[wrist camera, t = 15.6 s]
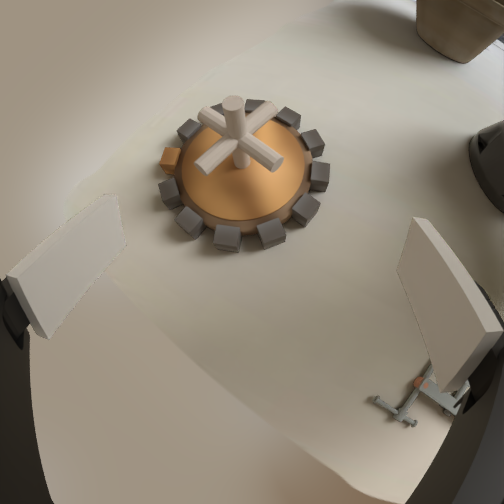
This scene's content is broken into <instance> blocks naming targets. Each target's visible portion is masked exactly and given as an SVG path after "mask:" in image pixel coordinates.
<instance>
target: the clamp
mask: <svg viewBox="0 0 504 504" xmlns="http://www.w3.org/2000/svg"><path fill="white" fill-rule="evenodd" d="M433 371H434V370H433V367H432V364H430V366H429V368H428V369H427V371H426V372H425V374H424V376H423V377H417V378H416V379H415V381H414V384H413V385H414V387H416V388H415V390H414V391H413V393H412V394H411V395H410V397H409V398H408V400H407V401H406V403H405V404H404V405H403V407H402V408H399V409H398V410H396V409H394V408H393V407H391V406H390V405H388V404H387V403H385V402H384V401H382V400H380V397H379V396H376V397H375V398H374V399H373V403H378V404H379V405H381V406H383V407H384V408H386V409H387V410H389V411H390V412H392V413H394V416H393V418H394V419H396V420H397V421H399V422H402V420H405V421H406V422H408V423H410V424H411V427H415V426H416V425H417V423H418V421H417V420H414V421H413V420H412V419H410V418H408V417H407V416H406V415H407V414H408V412H407V410H408V409H409V407H410V406H411V405H412V403H413V402H414V400H415V399H416V397H417V396H418V394H419V393H420V391H421V392H423V393H424V394H426V395H427V396H429V397H430V398H431V399H433V400H434V401H436V402H437V403H439V406H441V407H442V408H444V409H445V410H444V412H443V413H444V414H446V415H447V416H451V414H453V415H454V416H455V417H456V414H457V412H458V410H459V407H460V405H461V404H459V405H458V406H457V407H456V408H453V406H454V405H455V403H456V402H457V401H458V400H459V399H460V398H461V397H462V395H463V393H464V392H465V390H466V388H467V386H468V387H470V385H469V382H468V380H467V381H466V382H465V383H464V384H463V385H462V387H461V388H460V389H459V390H458V391H457V392H456V394H455V396H454V397H453V396H451V395H450V394H448V393H447V392H446V393H440V391H439V387H438V385H436V384H435V383H434V382H432V381H431V380H430V379H429V377H430V376H431V374H432V372H433Z"/></svg>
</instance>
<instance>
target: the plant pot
mask: <svg viewBox="0 0 504 504" xmlns="http://www.w3.org/2000/svg"><path fill="white" fill-rule="evenodd" d="M416 2H417V10H416V26H417V32H418V34H419V36H420V37H421V38H422V39H423V40H424V41H425V42H426V43H427V44H428V45H430V46H431V47H432V48H434V49H435V50H436V51H438V52H440V53H441V54H443V55H445V56H446V57H448V58H450V59H452V60H455V61H458V62H461V63H468V62H470V61H471V60H472V59H474V58H475V57H476V56H477V55H479V54H480V53H481V52H482V51H483V50H485V49H486V48H487V47H488V46H489V45H490V44H492V43H493V42H494V41H495V40H496V39H498V38H499V37H500V36H501V35H502V34H503V33H504V0H416Z"/></svg>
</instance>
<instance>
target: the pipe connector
mask: <svg viewBox="0 0 504 504" xmlns="http://www.w3.org/2000/svg"><path fill="white" fill-rule="evenodd" d="M222 107H223V112H224V116H223V115H221V114H220V113H218V112H217V111H215V110H213V109H212V108H210V107H207V106H206V107H204V108H202V109H201V110H200V111H199V114H198V120H199V121H201V122H202V123H203V124H205V125H206V126H208V127H209V128H211V129H212V130H214V131H215V132H217V133H218V134H220V135H221V136H222V137H221V138H220V139H219V140H218V141H217V142H216V143H215V144H213V145H212V146H211V147H210V148H209V149H208V150H207V151H206V152H204V153H203V154H202V155H201V156H200V157H199V158H198V159H197V160H196V161H195V162H194V165H195V167H196V168H197V169H198V170H199V171H200V172H201V173H202V174H203V175H205V176H208V175H209V174H210V173H211V172H212V171H213V170H214V169H215V168H216V167H217V166H218V165H219V164H220V163H222V162H223V161H224V160H225V159H226V158H227V157H228V156H229V155H230V154H231V153H232V155H233V160H234V164H235V166H236V167H237V168H239V169H245V168H247V167H248V166H249V165H250V157H252V158H253V159H254V160H256V161H257V162H258V163H260V164H261V165H262V166H264V167H265V168H266V169H268V170H269V171H270V172H272V173H273V172H275V171H276V170H278V168H279V167H280V166H281V164H282V163H283V160H284V157H283V156H281V155H280V154H279V153H277V152H276V151H274V150H273V149H272V148H270V147H269V146H267V145H266V144H265V143H263V142H262V141H260V140H259V139H257V138H256V137H254V136H253V134H254V133H255V132H256V131H257V130H259V129H260V128H261V127H262V126H263V125H265V124H266V123H267V122H268V121H269V120H270V119H272V118H273V117H274V116H275V115H276V114H277V113H278V109H277V107H276V106H275V105H274V104H273V103H272V102H270V101H265V102H264V103H263V104H261V105H260V106H259V107H258V108H256V109H255V110H254V111H253V112H251V113H250V114H249V115H248V116H246V117H245V109H244V101H243V99H242V98H241V97H239V96H229V97H227V98H225V99H224V100H223V102H222Z"/></svg>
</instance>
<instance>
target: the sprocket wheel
mask: <svg viewBox="0 0 504 504" xmlns="http://www.w3.org/2000/svg"><path fill="white" fill-rule="evenodd" d="M264 102H265V101H264V100H251V99H247V100H246V104H245V108H244V109H245V117H246V116H248V115H249V114H250V113H251V112H253V111H254V110H255V109H256V108H258V107H259V106H260V105H261V104H263V103H264ZM210 108H212V109H213V110H215V111H217V112H218V113H220V114H221V115H223V116H224V112H223V107H222V103H220V104H217V105H215V106H212V107H210ZM300 119H301V115H300V114H298V113H296V112H294V111H293V110H291V109H289V108H287V107H284V108H283V109H282V110H281V111H280V112H279V113H278V114H276V117H273V118H272V119H270V120H269V121H268V122H267V123H266V124H265V125H263V126H262V127H261V128H260V129H259V130H257V131H256V132H255V133H254V134H253V136H254V137H256V138H257V139H259V140H260V141H262V142H263V143H265V144H266V145H267V146H269V147H270V148H272V149H273V150H274V151H276V152H277V153H279V154H280V155H281V156H283V157H284V160H283V163H282V164H281V166H280V167H279V168H278V170H276V171H275V172H273V173H272V172H270V171H269V170H268V169H266V168H265V167H264V166H262V165H261V164H260V163H258V162H257V161H256V160H254V159H253V158H252V157H250V165H249V166H248V167H247V168H245V169H239V168H237V167H236V166H235V164H234V160H233V155H232V153H231V154H230V155H229V156H228V157H227V158H226V159H225V160H224V161H223V162H222V163H220V164H219V165H218V166H217V167H216V168H215V169H214V170H213V171H212V172H211V173H210V174H209V175H208V176H205V175H203V174H202V173H201V172H200V171H199V170H198V169H197V168H196V167H195V165H194V162H195V161H196V160H197V159H198V158H199V157H200V156H201V155H202V154H203V153H204V152H206V151H207V150H208V149H209V148H210V147H211V146H212V145H213V144H215V143H216V142H217V141H218V140H219V139H220V138H221V137H222V136H221V135H220V134H218V133H217V132H215V131H214V130H212V129H211V128H209V127H208V126H206V125H205V124H204V125H202V126H201V124H199V123H197V122H195V121H194V120H192V119H189V120H187V121H186V122H185V123H184V124H183V125H182V126H181V127H180V128H179V129H178V130H177V133H178V135H179V137H180V139H181V141H182V142H183V143H184V145H183V146H182V148H181V149H180V148H167V147H165V149H164V152H163V155H162V158H161V161H160V163H159V164H160V166H161V167H162V169H163V170H164V172H165V173H166V174H174V178H171V179H169V180H166V181H164V182H162V183H159V184H158V185H159V189H160V193H161V197H162V201H163V202H164V204H165V205H166V206H167V207H168V208H169V209H173V208H175V207H177V206H180V205H182V204H184V205H185V208H184V209H183V210H182V211H181V212H180V214H179V215H178V216H177V217H176V218H175V219H174V220H175V221H176V222H177V223H178V225H179V226H180V227H181V228H182V229H184V230H185V231H186V232H187V233H188V234H190V235H191V236H192V237H193V238H194V239H197V237H198V236H199V235H200V234H201V233H202V232H203V230H204V229H205V228H206V227H208V228H210V229H212V230H214V231H215V235H214V240H213V244H214V245H215V247H216V248H217V249H219V250H226V251H233V252H239V248H240V243H241V238H242V236H246V235H255V234H258V235H259V238H260V240H261V243H262V245H263V248H264V250H265V249H267V248H270V247H273V246H275V245H278V244H281V243H283V242H285V239H286V233H285V231H284V229H283V226H282V224H283V223H285V222H286V221H287V220H289V219H290V218H293V219H294V220H295V221H297V222H298V223H299V224H301V225H302V226H303V227H306V226H307V224H308V223H309V222H310V220H311V219H312V218H313V217H314V215H315V214H316V213H317V211H318V209H319V206H320V204H321V203H320V202H319V201H317V200H316V199H314V198H313V197H312V196H310V195H309V194H308V191H309V189H310V190H316V191H322V192H325V191H326V189H327V186H328V183H329V173H330V164H328V163H322V162H316V161H312V158H315V157H318V156H321V155H322V153H323V149H324V146H325V143H324V142H323V140H322V138H321V137H320V135H319V134H318V132H317V130H316V129H314V130H311V131H307V132H303V133H301V135H300V133H299V132H298V131H297V129H298V128H299V127H300Z"/></svg>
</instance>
